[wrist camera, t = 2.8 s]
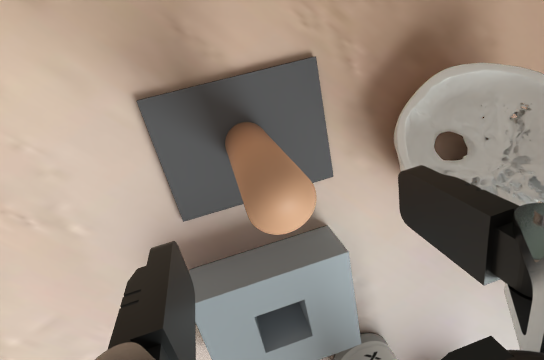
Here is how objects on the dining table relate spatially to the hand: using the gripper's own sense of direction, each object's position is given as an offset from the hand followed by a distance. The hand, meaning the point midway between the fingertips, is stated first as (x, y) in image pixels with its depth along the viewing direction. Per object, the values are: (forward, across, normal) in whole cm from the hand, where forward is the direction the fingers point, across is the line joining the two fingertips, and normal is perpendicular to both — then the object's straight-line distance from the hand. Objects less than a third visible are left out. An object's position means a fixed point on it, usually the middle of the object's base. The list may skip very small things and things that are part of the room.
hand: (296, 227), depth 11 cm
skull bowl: (+13, -17, +6) cm, 22 cm away
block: (+12, +1, +14) cm, 19 cm away
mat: (+13, 0, 0) cm, 13 cm away
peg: (+12, 0, 0) cm, 12 cm away
